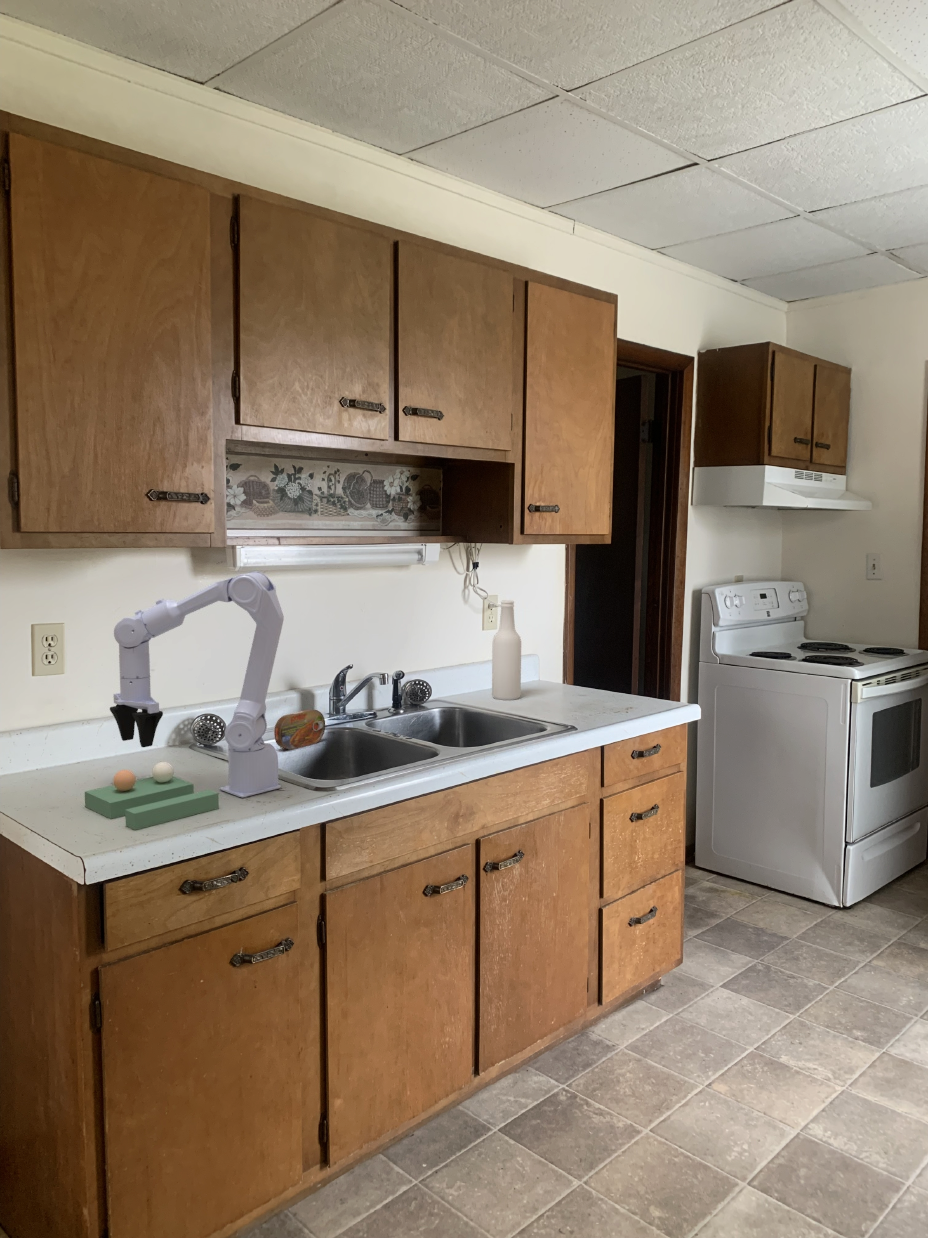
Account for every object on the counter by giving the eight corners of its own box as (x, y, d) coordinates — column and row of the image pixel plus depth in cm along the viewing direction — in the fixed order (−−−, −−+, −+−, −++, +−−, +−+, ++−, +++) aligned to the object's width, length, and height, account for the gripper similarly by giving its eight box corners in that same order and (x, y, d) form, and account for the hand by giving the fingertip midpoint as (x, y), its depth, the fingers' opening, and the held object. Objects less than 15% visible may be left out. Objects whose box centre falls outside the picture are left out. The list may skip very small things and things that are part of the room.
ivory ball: (167, 778, 185) (166, 758, 185) (177, 782, 183) (177, 762, 182) (148, 782, 182) (148, 762, 182) (159, 786, 180) (158, 766, 179)
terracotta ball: (129, 786, 179) (128, 766, 179) (139, 790, 177) (139, 770, 176) (109, 790, 176) (109, 770, 176) (120, 795, 174) (119, 774, 173)
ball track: (166, 788, 189) (166, 773, 188) (218, 808, 176) (218, 793, 176) (85, 806, 176) (84, 791, 176) (134, 830, 163) (134, 813, 163)
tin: (281, 753, 217) (280, 717, 216) (272, 751, 219) (271, 716, 218) (326, 741, 230) (326, 707, 229) (317, 739, 231) (317, 706, 230)
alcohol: (526, 699, 284) (527, 601, 281) (501, 701, 280) (503, 602, 276) (510, 694, 292) (511, 599, 288) (486, 696, 287) (487, 600, 284)
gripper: (98, 674, 187) (100, 740, 189) (134, 683, 178) (136, 753, 179) (131, 670, 193) (133, 734, 194) (168, 679, 183) (169, 746, 185)
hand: (137, 743), depth 187 cm, fingers open, 7 cm apart
